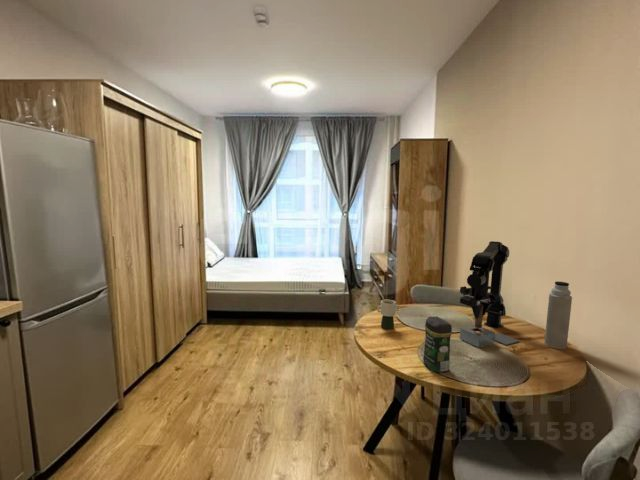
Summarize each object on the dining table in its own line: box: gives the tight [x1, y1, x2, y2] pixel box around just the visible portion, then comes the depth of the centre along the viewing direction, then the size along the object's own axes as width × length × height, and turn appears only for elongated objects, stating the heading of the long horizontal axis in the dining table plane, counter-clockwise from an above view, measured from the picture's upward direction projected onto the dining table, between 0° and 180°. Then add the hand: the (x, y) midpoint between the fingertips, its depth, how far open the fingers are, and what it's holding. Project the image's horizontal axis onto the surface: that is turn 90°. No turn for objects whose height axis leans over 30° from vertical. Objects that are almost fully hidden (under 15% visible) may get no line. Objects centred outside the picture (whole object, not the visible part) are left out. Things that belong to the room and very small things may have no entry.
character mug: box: [377, 299, 400, 330], centre depth 163 cm, size 11×7×13 cm, turn 102°
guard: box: [459, 324, 496, 348], centre depth 149 cm, size 10×10×5 cm
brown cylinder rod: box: [474, 304, 484, 328], centre depth 148 cm, size 3×3×10 cm
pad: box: [495, 333, 520, 347], centre depth 151 cm, size 9×9×1 cm
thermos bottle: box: [544, 281, 573, 350], centre depth 145 cm, size 8×8×28 cm
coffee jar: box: [422, 315, 453, 373], centre depth 125 cm, size 10×8×19 cm
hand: (478, 318), depth 148 cm, fingers closed on brown cylinder rod, 3 cm apart
